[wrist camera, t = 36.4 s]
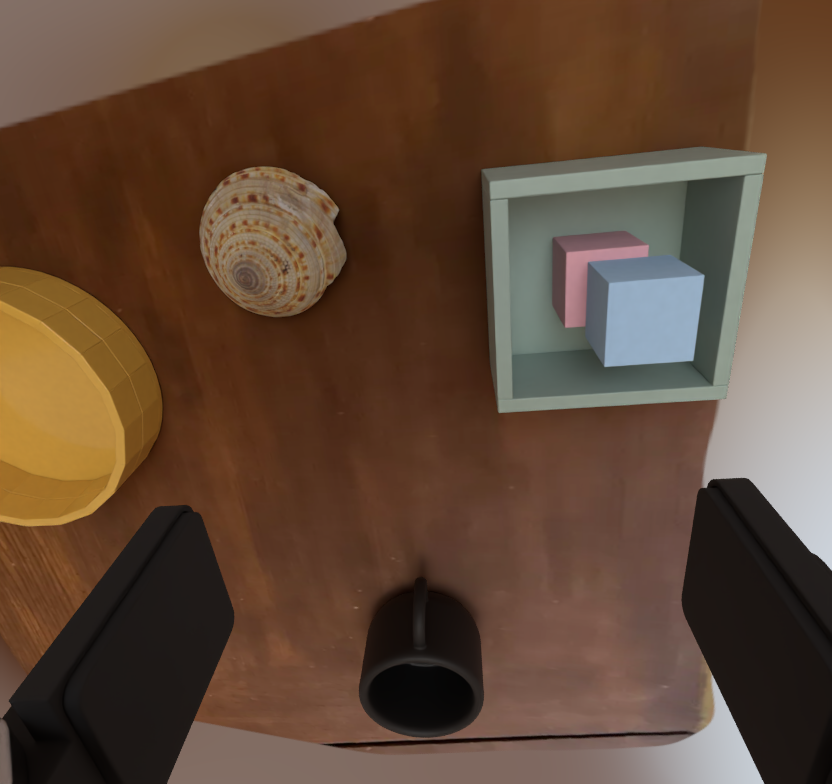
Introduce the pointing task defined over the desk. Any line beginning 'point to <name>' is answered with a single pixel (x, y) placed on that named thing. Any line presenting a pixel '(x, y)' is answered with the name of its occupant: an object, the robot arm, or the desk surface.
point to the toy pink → (585, 268)
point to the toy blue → (643, 310)
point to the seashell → (271, 241)
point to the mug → (422, 665)
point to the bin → (666, 235)
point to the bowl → (68, 400)
